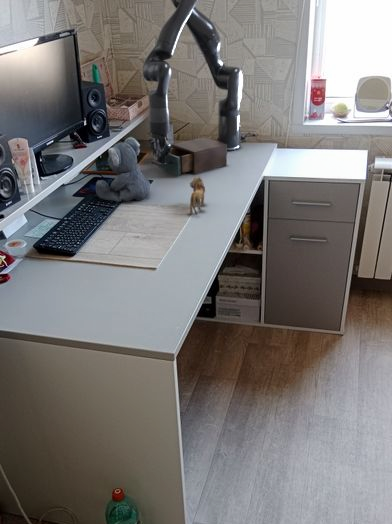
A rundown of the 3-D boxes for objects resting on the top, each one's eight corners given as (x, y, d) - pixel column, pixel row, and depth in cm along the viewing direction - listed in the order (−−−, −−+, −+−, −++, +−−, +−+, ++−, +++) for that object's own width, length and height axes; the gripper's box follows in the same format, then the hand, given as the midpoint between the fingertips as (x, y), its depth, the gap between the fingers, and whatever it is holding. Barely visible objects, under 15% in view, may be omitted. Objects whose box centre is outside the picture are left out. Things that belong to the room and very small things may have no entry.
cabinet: (194, 174, 224) (194, 151, 219) (172, 165, 234) (172, 144, 229) (226, 165, 233) (226, 144, 228) (204, 158, 242) (204, 137, 237)
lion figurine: (190, 200, 199) (189, 175, 194) (205, 200, 199) (204, 175, 194) (189, 216, 187) (188, 189, 182) (205, 216, 187) (205, 189, 182)
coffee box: (152, 158, 243) (150, 119, 233) (166, 156, 245) (164, 117, 236) (160, 164, 236) (158, 124, 227) (174, 162, 238) (173, 122, 229)
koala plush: (121, 185, 215) (116, 131, 204) (161, 192, 208) (158, 137, 196) (93, 199, 203) (86, 143, 192) (134, 207, 195) (129, 150, 184)
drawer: (166, 178, 218) (165, 160, 214) (146, 170, 226) (145, 153, 223) (209, 167, 228) (209, 150, 224) (189, 160, 237) (188, 143, 233)
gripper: (177, 120, 209) (179, 167, 219) (157, 114, 218) (159, 160, 228) (161, 124, 206) (163, 171, 215) (141, 118, 214) (144, 164, 224)
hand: (161, 165), depth 222 cm, fingers closed
